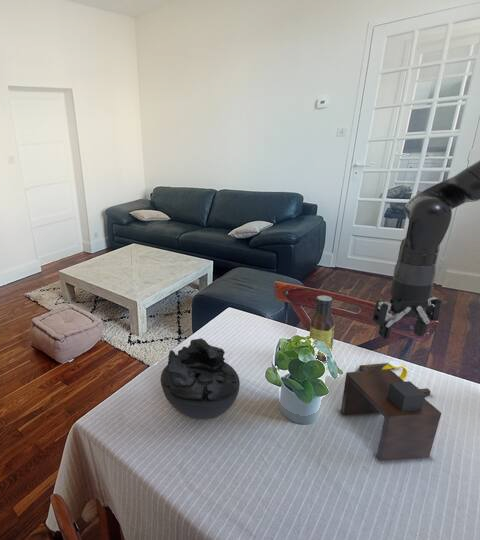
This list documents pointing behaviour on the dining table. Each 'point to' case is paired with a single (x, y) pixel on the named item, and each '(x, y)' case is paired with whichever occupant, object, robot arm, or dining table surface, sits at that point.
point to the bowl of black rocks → (200, 381)
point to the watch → (396, 366)
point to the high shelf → (391, 415)
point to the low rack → (380, 367)
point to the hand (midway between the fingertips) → (401, 336)
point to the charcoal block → (406, 396)
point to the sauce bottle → (323, 323)
